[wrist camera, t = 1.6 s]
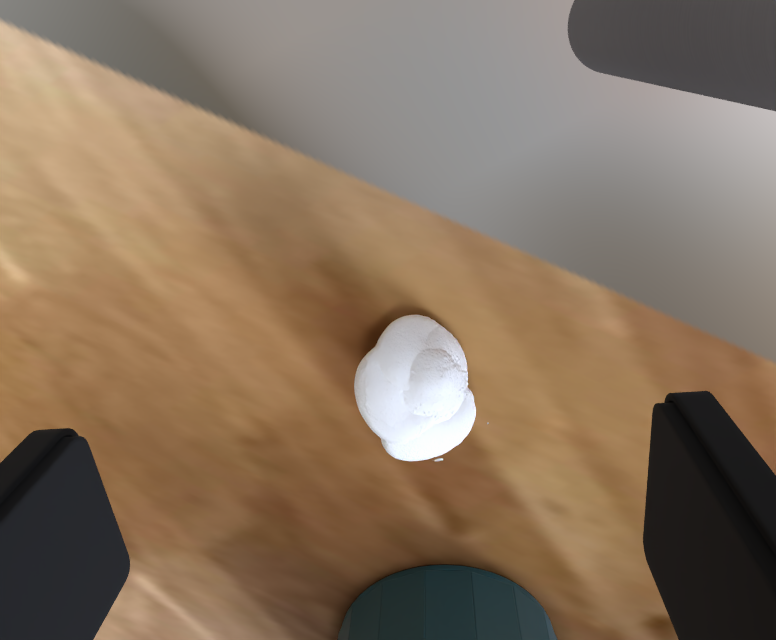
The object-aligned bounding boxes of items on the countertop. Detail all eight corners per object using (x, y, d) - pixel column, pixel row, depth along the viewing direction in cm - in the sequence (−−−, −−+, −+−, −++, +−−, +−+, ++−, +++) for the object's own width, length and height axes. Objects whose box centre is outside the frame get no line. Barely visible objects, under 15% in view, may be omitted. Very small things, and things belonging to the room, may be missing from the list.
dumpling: (334, 336, 30) (331, 356, 26) (436, 292, 30) (448, 305, 26) (394, 463, 31) (399, 501, 27) (491, 422, 31) (511, 453, 27)
